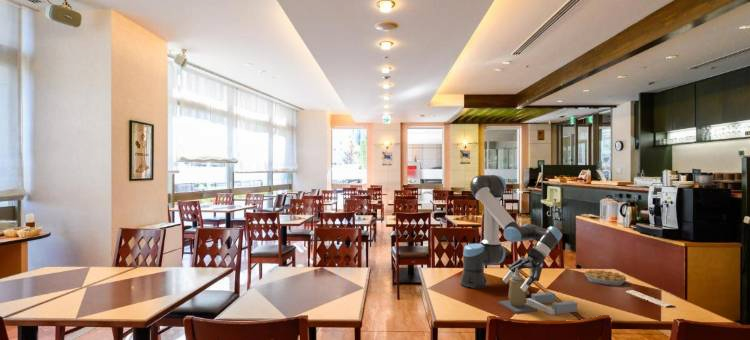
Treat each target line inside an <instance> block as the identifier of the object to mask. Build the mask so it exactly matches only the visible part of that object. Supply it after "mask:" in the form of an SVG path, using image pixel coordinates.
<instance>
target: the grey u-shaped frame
mask: <svg viewBox="0 0 750 340" xmlns="http://www.w3.org/2000/svg"><path fill="white" fill-rule="evenodd" d="M530 297H531V298H530ZM530 297H529V298H527V297H526V300H525V303H527V304H529V305H531V306H533V307H535V308H537V309H539V310H541V311H543V312H544V313H547V314H549V315H551V316H552V315H560V314H561V315H562V314H569V313H577V312H578V302H575V301H573V300H569V301H568V300H567V301H560V302H556V293H554V292H552V291H548V292H539V293H538V292H536V293H531V295H530ZM546 303H547V304H548V303H551V307H550V306H547V305H545V304H546Z"/></svg>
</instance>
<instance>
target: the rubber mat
mask: <svg viewBox="0 0 750 340" xmlns="http://www.w3.org/2000/svg"><path fill="white" fill-rule="evenodd" d="M497 305H500V306H502V307H503V308H505V309H507V310H508V311H511V312H513V313H514V314H517V315H518V314H523V313H524V314H525V313H533V312H538V309H539V308H537V307H535V306H533V305H531V304H529V303H527V302H525V303H524V305H523V306H522V307H517V306H513V305H511V303H510V300H509V299H508V300H499V301H497Z"/></svg>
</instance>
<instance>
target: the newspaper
mask: <svg viewBox="0 0 750 340" xmlns="http://www.w3.org/2000/svg"><path fill="white" fill-rule="evenodd" d="M625 293H627V294H630V295H632V296H634V297H637V298H639V299H642V300H644V299H645V300H644V301H647V300H648V302H650V303H653V304H655V305H658V306H660V307H663V308H666V307H669V306H670V307H673V306H674V308H676V305H674V304H671V303H668V302H665V301H662V300H661V299H659V298H655V297H652V296H649V295H647V294H645V293H643V292H642V293H641V292H639V291H636V290H634V289H629V290H626V291H625Z"/></svg>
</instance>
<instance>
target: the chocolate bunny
mask: <svg viewBox="0 0 750 340" xmlns="http://www.w3.org/2000/svg"><path fill="white" fill-rule="evenodd" d="M522 280H523V281H524V282H525V281H526V278H523V276H522ZM525 294H526V297H527V296H529V295H530V291H529V290H528V289H527V290H526V291H525Z"/></svg>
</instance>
